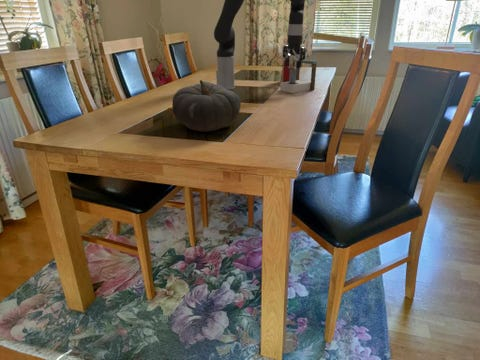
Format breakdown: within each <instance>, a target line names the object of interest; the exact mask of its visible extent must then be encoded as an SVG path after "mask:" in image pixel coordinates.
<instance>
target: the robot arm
mask: <svg viewBox="0 0 480 360" xmlns="http://www.w3.org/2000/svg"><path fill="white" fill-rule="evenodd" d="M244 1H245V0H224V2H223V6H222V10H221V13H220V15H219V18H218V21H217V23H216V25H215V27H214V30H213V38H214V40H215V41H216V42H217V43H218V48H217V50H216V63H217V64H216V65H217V68H216V69H217V70H216V72H215V73H216V74H215V75H216V76H215V77H216V85H220V86H222V87H224V88H226V89H228V90H233V89H235V88H236V87H235V60H234V59H235V54H234V52H235V49H236V48H235V47H236V33H235V28H234V27H233V24H234V19H235V18H236V17H237V16H236V15H237V14H238V12H239V11H240V9H241V8H242V6H243V4H244ZM289 1H290V12H289V16H288V27H287V41H286V44H287V45H283V47H282V50H283V52H282V58H285V66H286V67H289V62H290V59H289V58H290V57H291V56H292V55H293V56H294V58H295V59H297V60H298V61H297V69H300V70H301V68H302V63H301V62H302V60H305V59H306V47H305V46H303V47H302V46H301V45H302V44H303V36H304V34H303V32H304V26H303V25H304V9H305V5H306V4H305V2H306V0H289ZM285 53H286V54H285Z"/></svg>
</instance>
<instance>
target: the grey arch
mask: <svg viewBox="0 0 480 360" xmlns="http://www.w3.org/2000/svg"><path fill="white" fill-rule="evenodd" d="M297 61H298V60H297V58H294V59H293V62H295V66H296V80H300V72H301V71H300V70H301V68H300V69H297ZM317 63H318V61H317V60H314V59H313V60H312V59H306V58H305V60H302V62H301V64H307V65H311V73H310V74H311V75H310V82H311V85H310V90H309V91H311V92H312V91H315V89H316V87H315V86H316V73H317Z"/></svg>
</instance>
